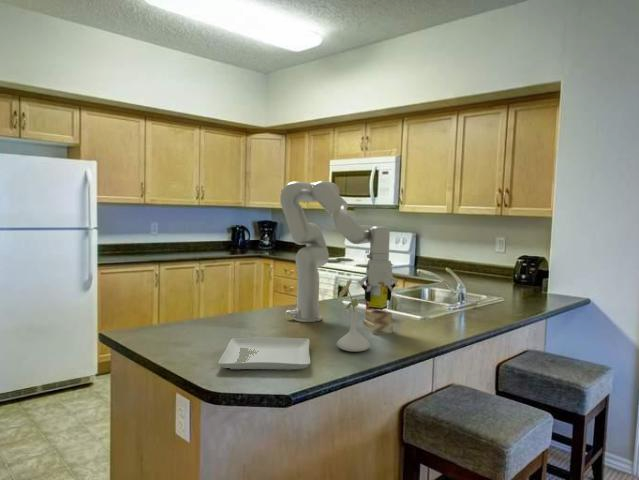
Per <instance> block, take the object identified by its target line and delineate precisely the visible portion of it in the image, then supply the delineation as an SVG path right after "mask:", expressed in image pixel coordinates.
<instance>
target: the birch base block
mask: <svg viewBox="0 0 639 480" xmlns="http://www.w3.org/2000/svg"><path fill="white" fill-rule="evenodd" d="M362 323H363V324H362V329H363V328H364V330H365V331H367V332H369V333H370V334H371V333H372V334H371V335H375V333H380V334H391V333H392V332H393V333H394V323H393V322H392V323H389V324H372V323H370V322H368V321H367V320H365V318H364V319H363V320H362Z"/></svg>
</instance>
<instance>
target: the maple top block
mask: <svg viewBox="0 0 639 480" xmlns="http://www.w3.org/2000/svg"><path fill="white" fill-rule="evenodd" d="M364 314H365V316H364V319H365V320H367V321H368V322H370V323H372V324H389V323H393V313H392V312H391V311H388V310H386V309H382V310H380V309H374V310H366V309H365V312H364Z"/></svg>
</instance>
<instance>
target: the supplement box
mask: <svg viewBox="0 0 639 480" xmlns="http://www.w3.org/2000/svg"><path fill="white" fill-rule="evenodd" d="M369 291H370V302H368V308H372V309H380V310H382V309H384V310H386V309H387V308H388V286H384V282H379V283H378V286H372V287H371V289H370V290H369Z"/></svg>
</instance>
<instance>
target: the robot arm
mask: <svg viewBox="0 0 639 480" xmlns="http://www.w3.org/2000/svg"><path fill="white" fill-rule="evenodd" d="M279 199H280V205H281V206H280V207H281V209H282V212H283V213H284V216H285V220H286V223H287V226H288V230H289V234H290V236H291V239H292V241H293V243H295V245H300V246H302V245H305V247H302V248H300V249H299V250H298V251H297V253H296V255H295V266H296V276H297V277H296V284H297V285H296V286H297V287H296V307H294V309H292V310H285V316H292V319H293V320H294V321H296V322H299V323H300V322H302V323H315V322H316V321H317V322H320V321H322V320H323V316H322V315H320V314H319V311H320V310H319V303H320V275H319V271H318V268H320V267H323V266H325V265H326V264H327V263H328V262H329V258H330V257H329V255H330V253H329V250H328V246H327V244H326V240H325V238H324V234H323V231H322V229H321V228H320V227H319V225H317V224H316V223H314V222H309V221H308V219H307V217H306V212H305V210H304V209H303V207H302V206H301V204H300V202H302V203H305V202H307V203H315V202H316V203H317V202H318V204H319V205H320V206H321V207H322V208H323V209H324V210H325V211H326V212H327V213H328V214H329V215H330V217H331V218H332V221H333V223H334V225H335V227H336V229H337V230H338V232H339V233H340V234H341V235H342V236H343V237H344V238H345V239H346V240H347V241H348V242H350V243H351V244H353V245H361V244H363V245H364V244H369V243H370V244H369V245H370V247H369V254H367V255H366V258H367V259H369V260H368V261H367V264H366V271H365V276H363V277H362V278H360V279H359V280H358V284H359V285H360V287H361V288H362V289H363V291H364V301H365V302H366V301H368V302H370V291H369V290H370V289H371V287H372V286H378V283H379V282H384V286H388V301H389V302H391V299H392V291H393V289H395V287H396V286H397V284H398V282H399V279H397V278H396V277H395V276H393V267H392V261H391V260H390V259H389V258H390V237H391V235H390V234H391V233H390V232H391V230H390V227H388V226H383V225H379V226H378V225H375V226H374V225H370V224H358V223H357V222H356V221H355V220H354V219H353V218H352V217H351V215H349V213H348V207H349V205H348V202H347V201H346V200H345V199H344V198H343V197H342V195H340V188H339V186H338V185H337V184H336V183H334V182H332V181H326V180H319V181H317V182H303V181H291V182H289V183H287V184H286V185H284V187H283V188H282V189H281V193H280V198H279ZM365 284H366V285H365ZM388 301H387V302H388Z"/></svg>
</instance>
